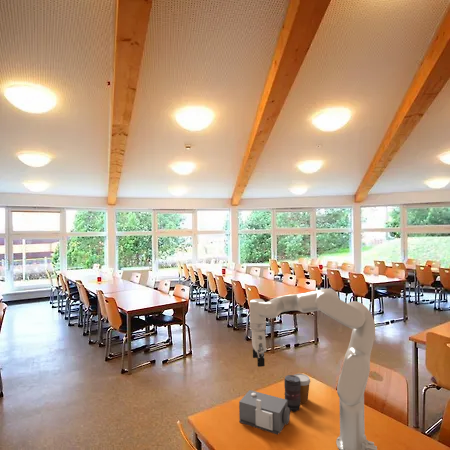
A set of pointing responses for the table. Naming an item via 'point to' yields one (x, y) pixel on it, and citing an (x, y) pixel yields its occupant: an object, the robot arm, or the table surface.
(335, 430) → the table surface
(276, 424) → the housing
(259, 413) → the hatch
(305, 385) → the disposable coffee cup
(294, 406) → the camera lens
